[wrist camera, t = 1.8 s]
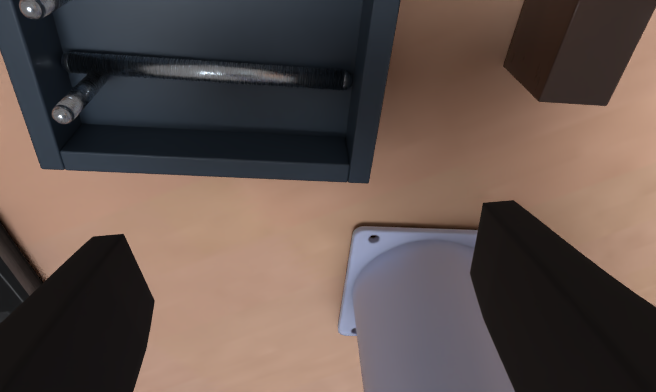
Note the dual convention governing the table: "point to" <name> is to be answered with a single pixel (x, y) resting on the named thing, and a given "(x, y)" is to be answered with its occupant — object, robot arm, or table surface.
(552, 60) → the knife
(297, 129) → the drying rack
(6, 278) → the phone
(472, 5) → the table surface
